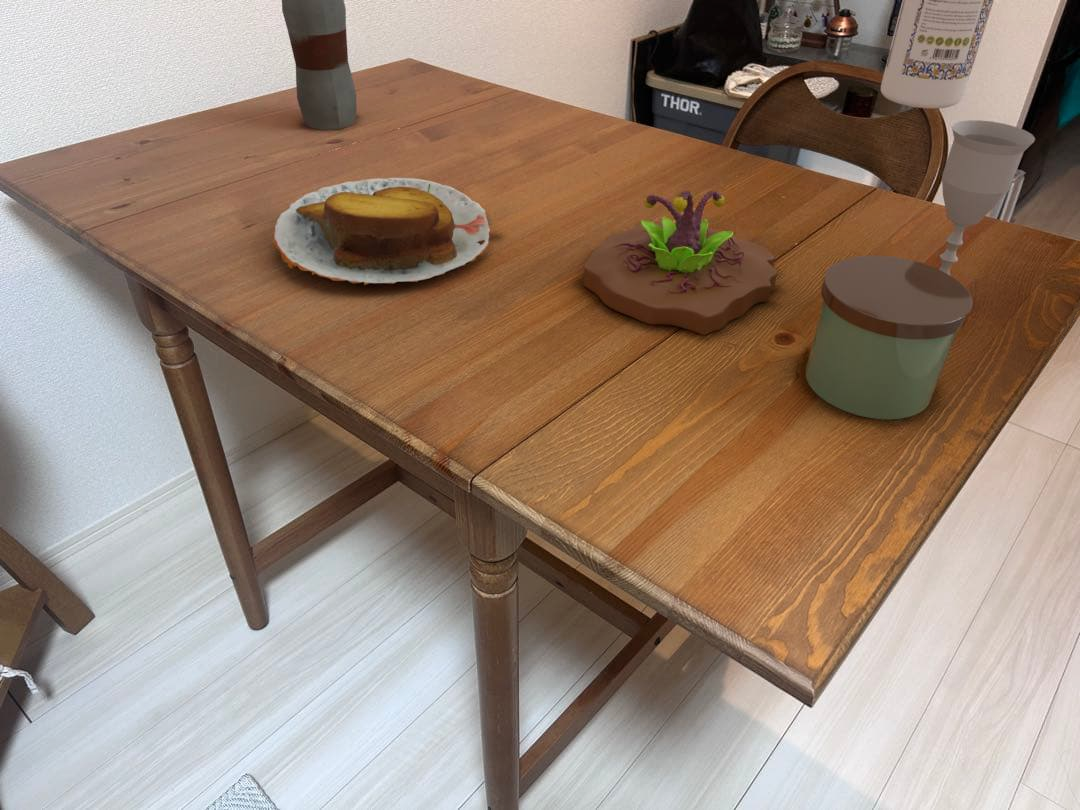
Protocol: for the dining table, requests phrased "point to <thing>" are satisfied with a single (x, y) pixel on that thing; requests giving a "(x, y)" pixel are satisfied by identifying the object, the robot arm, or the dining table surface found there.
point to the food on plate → (382, 230)
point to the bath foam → (934, 51)
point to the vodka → (321, 62)
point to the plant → (680, 269)
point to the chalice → (978, 174)
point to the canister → (884, 335)
